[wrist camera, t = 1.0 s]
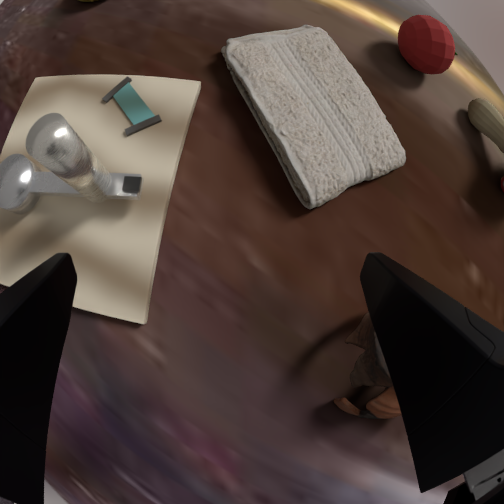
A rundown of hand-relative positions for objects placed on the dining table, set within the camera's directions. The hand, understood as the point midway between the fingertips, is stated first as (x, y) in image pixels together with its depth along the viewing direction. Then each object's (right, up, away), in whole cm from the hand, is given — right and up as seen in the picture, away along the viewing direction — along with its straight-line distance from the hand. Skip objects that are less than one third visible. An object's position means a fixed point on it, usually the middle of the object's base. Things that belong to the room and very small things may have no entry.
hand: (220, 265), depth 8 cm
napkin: (-14, +7, +13) cm, 20 cm away
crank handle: (-13, +5, +11) cm, 18 cm away
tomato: (+21, +24, +20) cm, 38 cm away
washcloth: (+6, +14, +17) cm, 23 cm away
